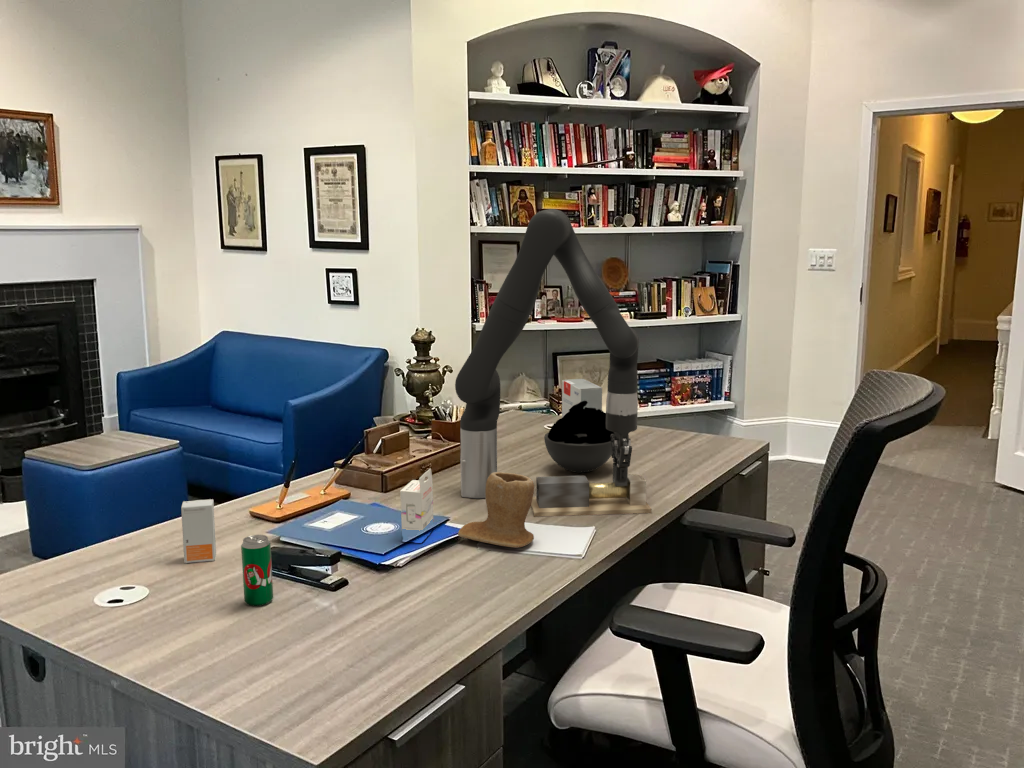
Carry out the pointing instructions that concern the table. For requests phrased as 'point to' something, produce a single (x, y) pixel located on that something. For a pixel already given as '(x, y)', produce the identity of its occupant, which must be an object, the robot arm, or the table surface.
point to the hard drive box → (580, 394)
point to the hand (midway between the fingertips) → (620, 479)
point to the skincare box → (198, 531)
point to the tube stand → (585, 497)
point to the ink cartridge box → (417, 503)
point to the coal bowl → (580, 439)
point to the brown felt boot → (504, 512)
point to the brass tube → (610, 488)
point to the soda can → (257, 570)
